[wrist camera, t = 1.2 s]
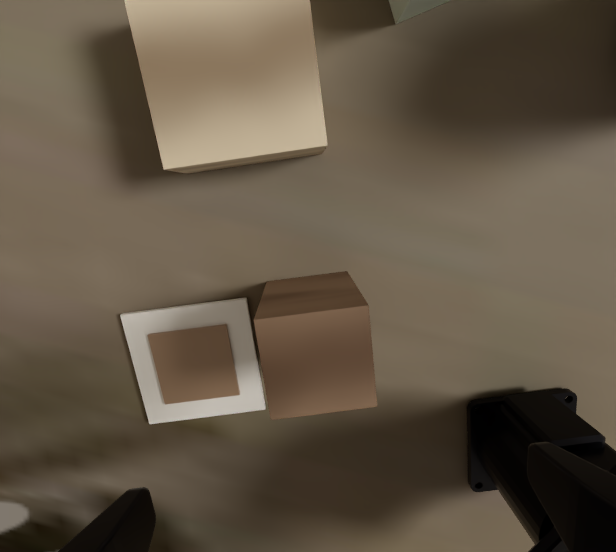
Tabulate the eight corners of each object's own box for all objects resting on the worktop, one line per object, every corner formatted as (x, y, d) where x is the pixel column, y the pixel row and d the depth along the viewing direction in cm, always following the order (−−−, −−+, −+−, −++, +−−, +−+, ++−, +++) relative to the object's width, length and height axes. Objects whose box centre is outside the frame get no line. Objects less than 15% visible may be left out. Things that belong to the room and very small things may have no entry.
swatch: (265, 406, 21) (264, 411, 20) (151, 420, 21) (147, 426, 20) (246, 297, 19) (245, 300, 19) (122, 313, 19) (118, 316, 19)
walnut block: (354, 344, 20) (377, 406, 14) (278, 354, 20) (270, 420, 14) (346, 270, 19) (368, 305, 13) (266, 281, 19) (253, 319, 13)
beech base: (321, 154, 18) (327, 145, 15) (188, 174, 18) (163, 169, 15) (302, -1, 16) (303, -52, 13) (155, 21, 16) (118, -24, 13)
